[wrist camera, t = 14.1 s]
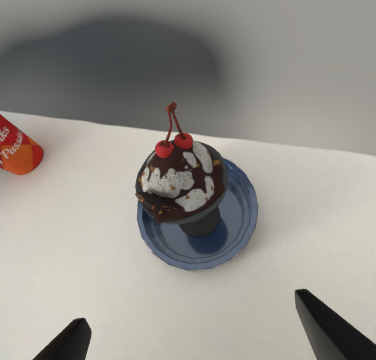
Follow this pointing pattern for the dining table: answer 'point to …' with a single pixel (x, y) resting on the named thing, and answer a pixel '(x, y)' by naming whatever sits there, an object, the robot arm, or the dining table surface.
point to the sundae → (183, 183)
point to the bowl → (213, 243)
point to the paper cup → (17, 149)
